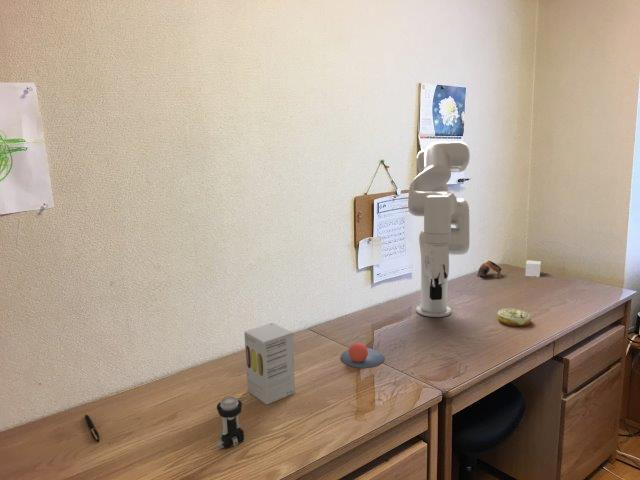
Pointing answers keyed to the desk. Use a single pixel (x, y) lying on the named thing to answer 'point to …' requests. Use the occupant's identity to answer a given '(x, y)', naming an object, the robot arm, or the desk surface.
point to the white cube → (533, 268)
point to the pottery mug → (485, 269)
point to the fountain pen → (92, 428)
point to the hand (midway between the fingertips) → (435, 298)
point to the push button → (230, 422)
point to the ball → (358, 352)
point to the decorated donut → (514, 317)
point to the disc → (372, 359)
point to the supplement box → (270, 362)
